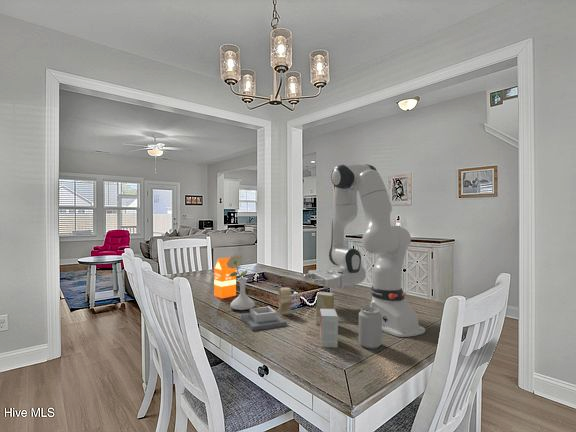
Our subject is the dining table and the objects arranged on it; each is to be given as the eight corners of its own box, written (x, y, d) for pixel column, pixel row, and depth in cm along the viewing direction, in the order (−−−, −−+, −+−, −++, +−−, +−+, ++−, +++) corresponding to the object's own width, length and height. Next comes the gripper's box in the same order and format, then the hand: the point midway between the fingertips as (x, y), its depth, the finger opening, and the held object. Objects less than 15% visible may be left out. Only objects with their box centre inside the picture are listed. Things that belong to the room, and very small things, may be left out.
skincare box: (315, 324, 124) (316, 293, 124) (318, 321, 128) (318, 291, 128) (331, 326, 121) (332, 295, 121) (334, 323, 126) (334, 292, 125)
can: (379, 340, 108) (379, 306, 108) (383, 350, 101) (383, 313, 101) (357, 339, 109) (357, 305, 109) (359, 349, 102) (360, 312, 102)
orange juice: (213, 295, 166) (214, 257, 166) (228, 292, 172) (228, 256, 172) (221, 298, 160) (221, 259, 160) (236, 295, 166) (236, 257, 166)
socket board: (286, 325, 122) (286, 314, 122) (252, 330, 117) (252, 318, 117) (272, 313, 137) (272, 303, 137) (241, 317, 132) (241, 306, 131)
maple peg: (290, 314, 136) (290, 289, 136) (282, 315, 135) (282, 289, 134) (287, 311, 140) (287, 286, 140) (278, 312, 138) (278, 287, 138)
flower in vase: (252, 303, 151) (252, 252, 151) (257, 310, 140) (257, 255, 140) (224, 306, 147) (225, 253, 147) (228, 313, 136) (228, 256, 136)
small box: (319, 337, 111) (319, 308, 111) (335, 338, 111) (335, 308, 111) (320, 347, 103) (321, 315, 103) (337, 347, 103) (338, 316, 103)
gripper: (323, 266, 157) (298, 267, 152) (346, 275, 138) (319, 277, 133) (323, 278, 157) (298, 280, 152) (346, 289, 139) (318, 292, 133)
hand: (308, 279), depth 142 cm, fingers open, 8 cm apart
